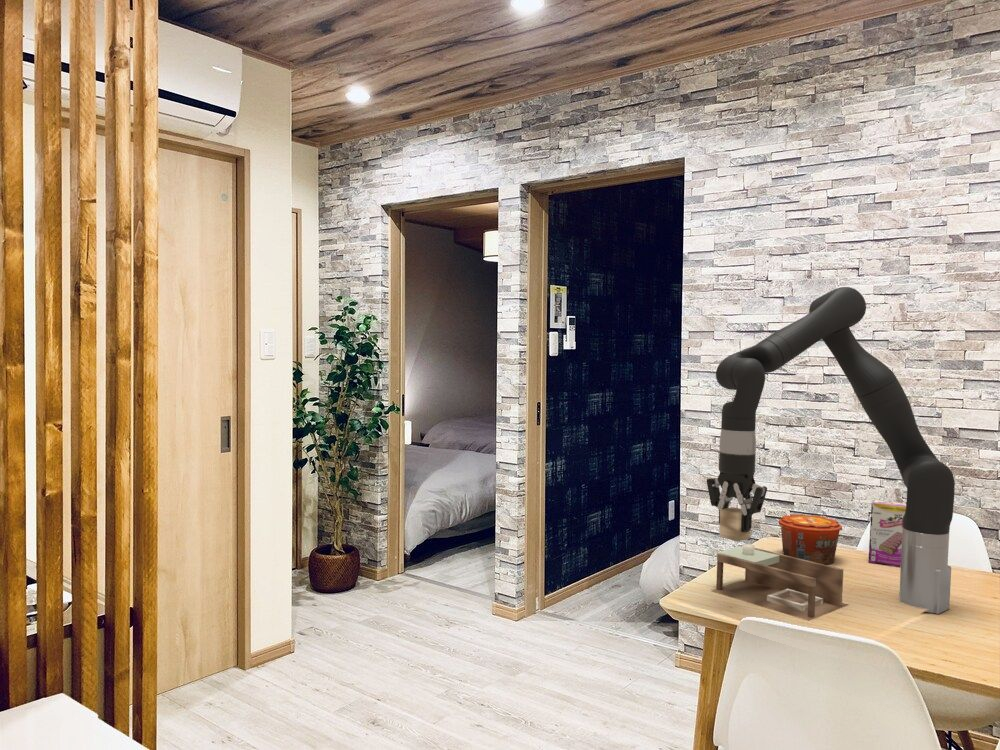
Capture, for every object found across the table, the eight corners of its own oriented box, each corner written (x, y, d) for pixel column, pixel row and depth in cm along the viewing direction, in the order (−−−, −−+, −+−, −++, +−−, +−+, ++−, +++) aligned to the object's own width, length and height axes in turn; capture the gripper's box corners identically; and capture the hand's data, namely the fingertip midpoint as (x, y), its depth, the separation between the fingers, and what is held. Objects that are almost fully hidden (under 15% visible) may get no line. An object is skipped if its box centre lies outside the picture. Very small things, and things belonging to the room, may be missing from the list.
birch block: (750, 538, 172) (751, 510, 171) (737, 541, 169) (738, 513, 168) (731, 534, 175) (732, 507, 175) (719, 537, 172) (720, 509, 172)
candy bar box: (867, 563, 213) (870, 502, 213) (870, 558, 218) (872, 499, 217) (915, 569, 208) (917, 507, 207) (916, 565, 212) (918, 504, 211)
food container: (853, 566, 210) (855, 525, 210) (799, 568, 206) (801, 527, 206) (816, 550, 226) (817, 512, 225) (765, 552, 222) (767, 514, 221)
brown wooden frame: (848, 609, 175) (850, 568, 175) (808, 625, 164) (810, 581, 164) (752, 582, 193) (753, 544, 193) (710, 595, 183) (711, 555, 182)
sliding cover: (779, 562, 184) (779, 546, 184) (754, 569, 178) (755, 553, 177) (741, 552, 192) (742, 537, 192) (716, 559, 185) (717, 543, 185)
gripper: (777, 453, 168) (774, 533, 169) (719, 445, 179) (716, 521, 180) (757, 456, 163) (753, 538, 164) (699, 447, 174) (696, 525, 175)
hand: (734, 529), depth 172 cm, fingers closed on birch block, 4 cm apart
